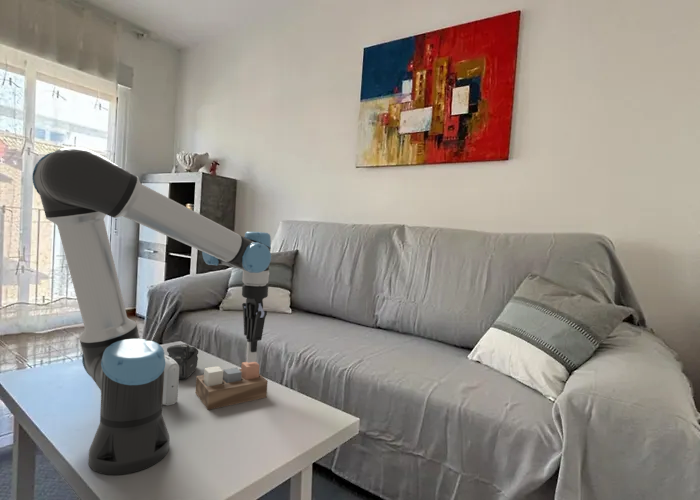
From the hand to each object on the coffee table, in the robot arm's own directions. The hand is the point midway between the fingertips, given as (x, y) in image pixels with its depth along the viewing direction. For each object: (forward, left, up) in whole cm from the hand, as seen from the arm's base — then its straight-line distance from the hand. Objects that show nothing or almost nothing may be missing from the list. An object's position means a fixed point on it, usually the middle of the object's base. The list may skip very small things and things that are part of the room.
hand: (251, 361), depth 120 cm
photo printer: (+6, +23, -10) cm, 26 cm away
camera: (+22, +14, -10) cm, 28 cm away
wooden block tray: (0, +6, -9) cm, 11 cm away
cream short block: (0, +11, -6) cm, 13 cm away
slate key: (0, +6, -7) cm, 9 cm away
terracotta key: (0, 0, -6) cm, 6 cm away
